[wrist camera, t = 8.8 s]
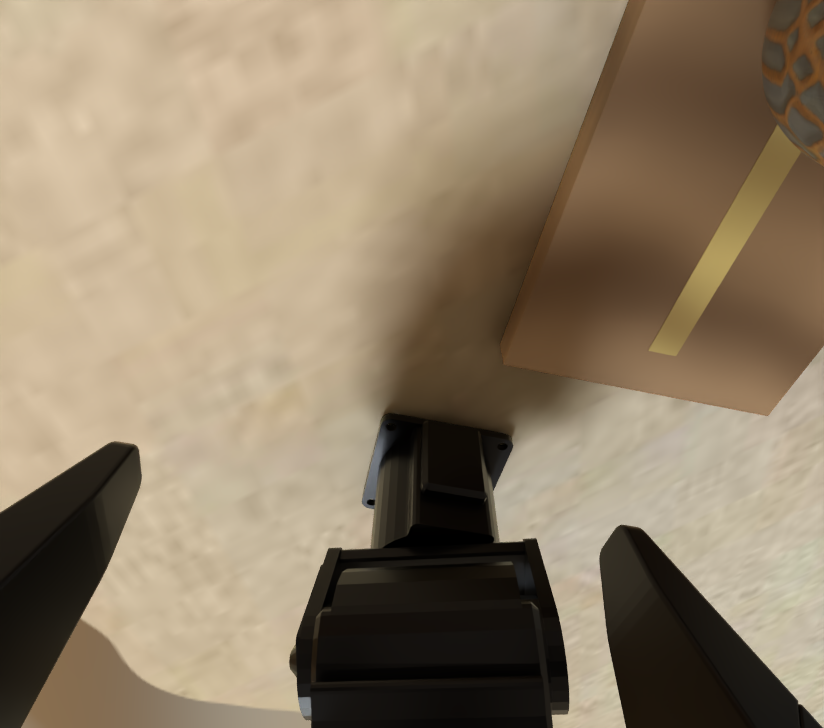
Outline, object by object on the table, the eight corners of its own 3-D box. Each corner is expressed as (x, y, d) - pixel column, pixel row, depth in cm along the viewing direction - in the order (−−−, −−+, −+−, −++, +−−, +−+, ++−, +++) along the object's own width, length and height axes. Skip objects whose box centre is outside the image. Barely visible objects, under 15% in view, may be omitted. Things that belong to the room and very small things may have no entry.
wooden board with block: (750, 394, 25) (839, 507, 19) (499, 344, 23) (521, 450, 18) (1211, -221, 13) (1728, -355, 8) (772, -383, 12) (1043, -667, 7)
